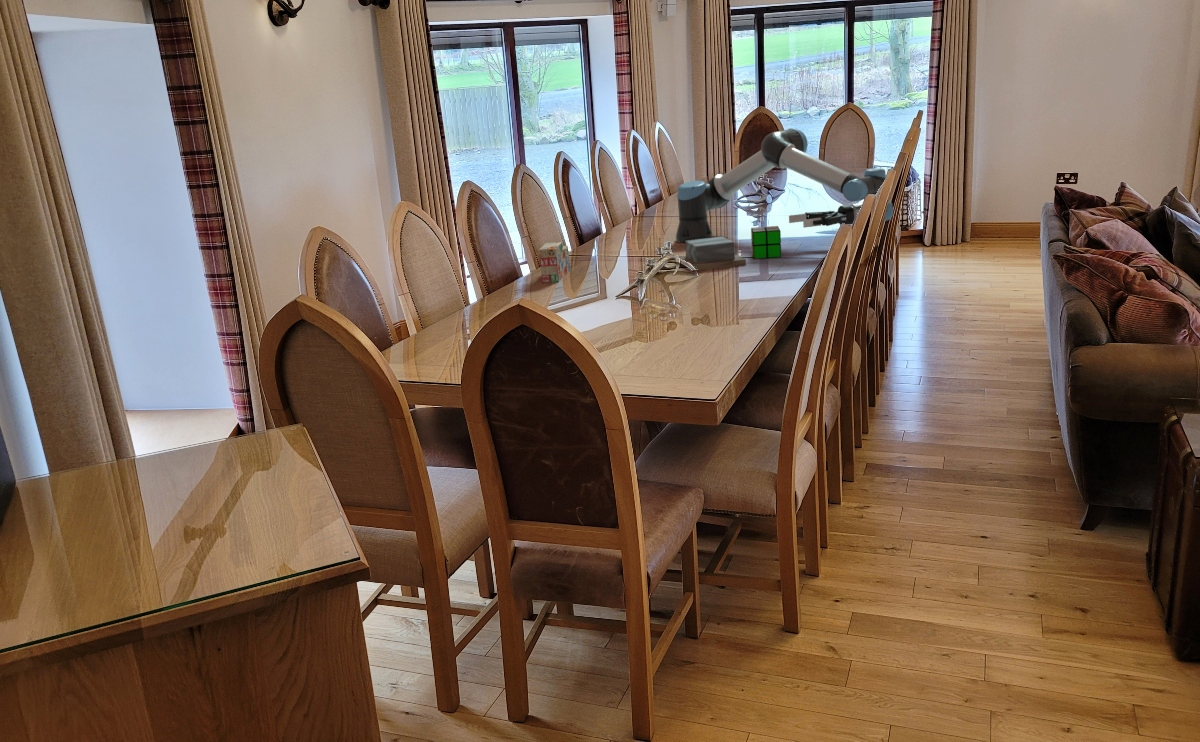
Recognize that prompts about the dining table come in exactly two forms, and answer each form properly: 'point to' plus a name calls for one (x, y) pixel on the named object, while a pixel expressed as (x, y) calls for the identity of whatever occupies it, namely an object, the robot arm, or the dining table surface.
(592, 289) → the dining table surface
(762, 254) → the puzzle cube
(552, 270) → the stack of blocks
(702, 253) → the tower base
